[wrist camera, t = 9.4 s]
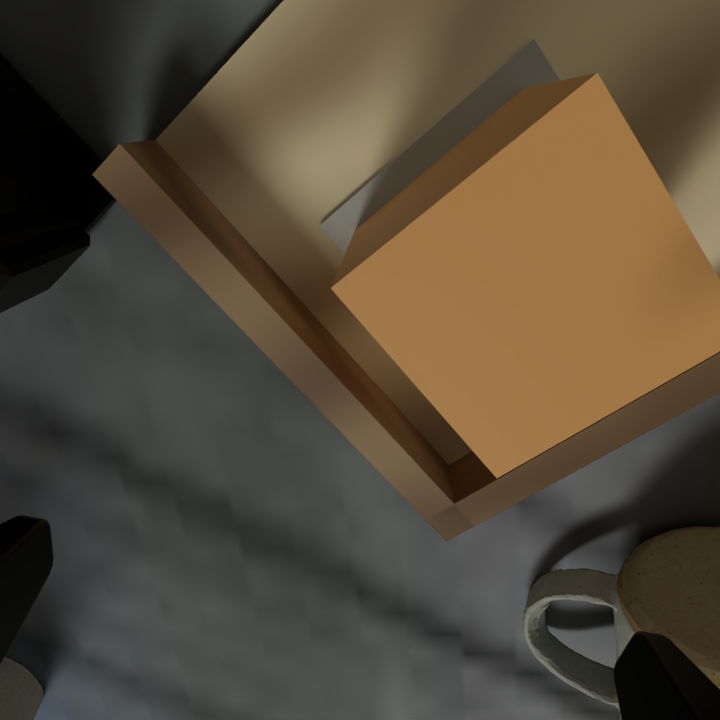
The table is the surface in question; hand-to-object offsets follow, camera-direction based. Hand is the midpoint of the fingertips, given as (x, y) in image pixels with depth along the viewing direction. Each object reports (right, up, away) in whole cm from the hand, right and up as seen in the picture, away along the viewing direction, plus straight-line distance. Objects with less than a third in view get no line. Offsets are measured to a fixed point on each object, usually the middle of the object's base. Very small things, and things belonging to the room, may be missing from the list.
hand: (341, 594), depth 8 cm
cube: (+4, +7, +8) cm, 12 cm away
